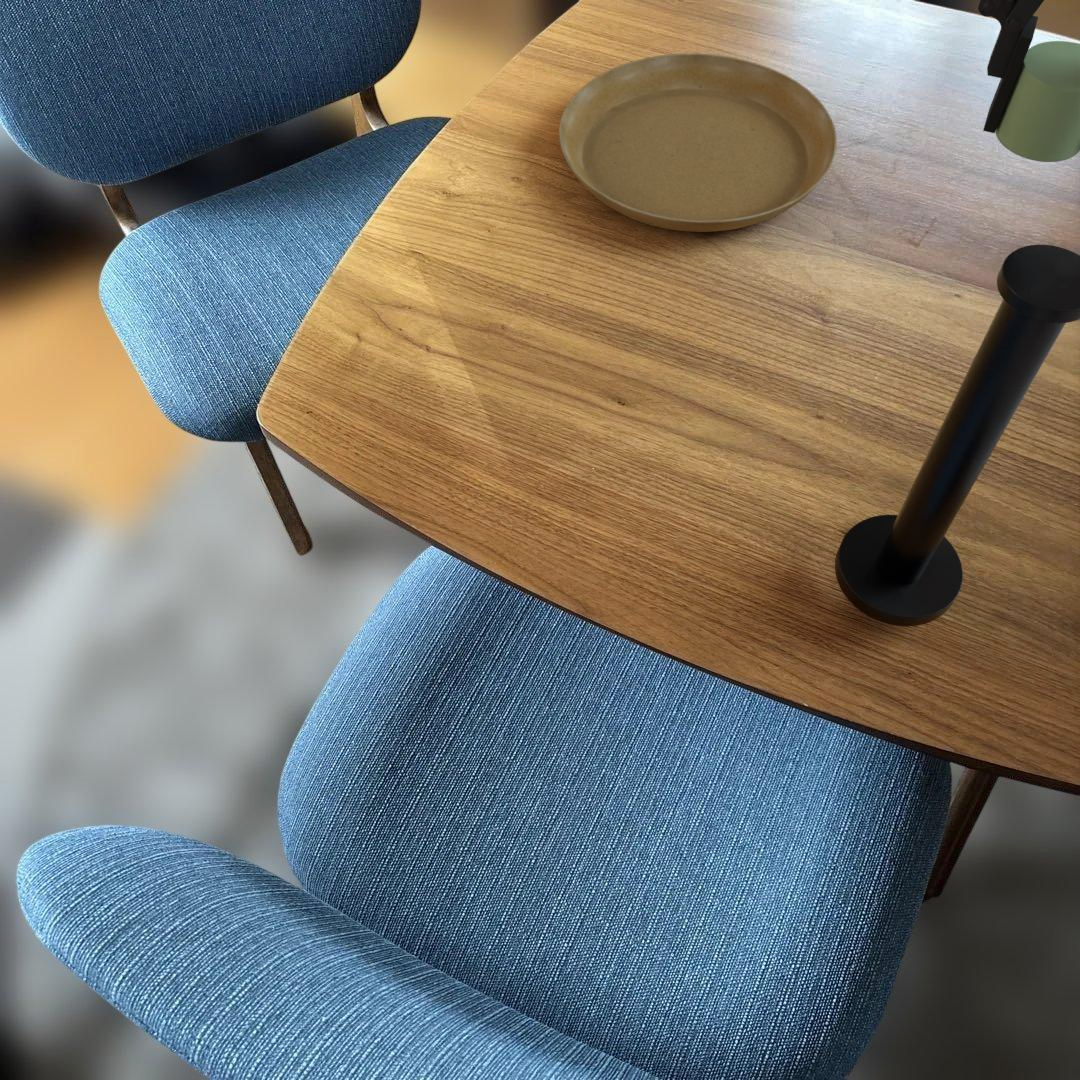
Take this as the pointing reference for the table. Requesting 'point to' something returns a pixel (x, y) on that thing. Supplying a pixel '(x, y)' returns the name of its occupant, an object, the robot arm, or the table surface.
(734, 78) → the plant saucer
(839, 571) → the stand
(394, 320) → the table surface
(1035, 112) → the sage green cylinder
